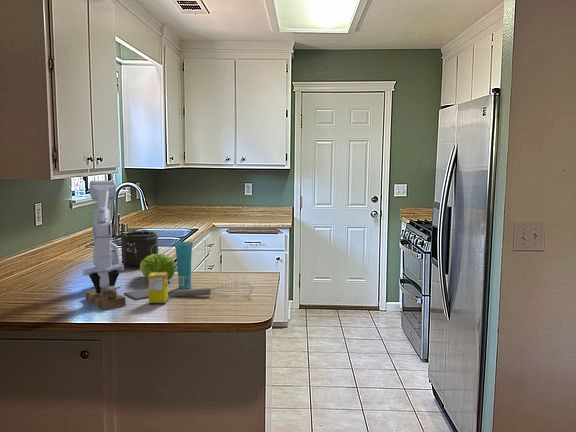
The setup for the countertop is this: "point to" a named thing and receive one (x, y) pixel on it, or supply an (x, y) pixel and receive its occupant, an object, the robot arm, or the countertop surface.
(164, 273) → the supplement box
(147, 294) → the charcoal mat
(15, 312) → the countertop surface
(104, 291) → the lever cap
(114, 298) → the walnut plane
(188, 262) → the tube
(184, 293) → the kitchen whisk
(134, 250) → the dark speckled bucket
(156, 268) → the lettuce
